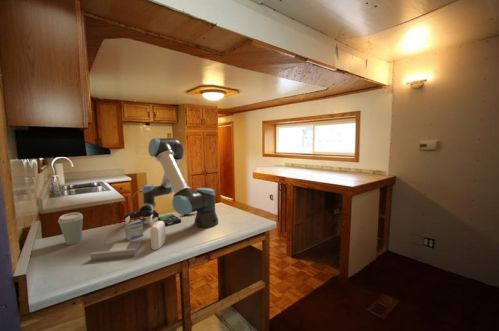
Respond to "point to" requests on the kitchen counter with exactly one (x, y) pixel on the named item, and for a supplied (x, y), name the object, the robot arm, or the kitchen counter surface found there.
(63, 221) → the disposable coffee cup
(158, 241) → the photo printer
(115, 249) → the dock
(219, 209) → the kitchen counter surface
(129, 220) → the robot arm
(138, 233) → the medicine box
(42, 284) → the kitchen counter surface
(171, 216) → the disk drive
